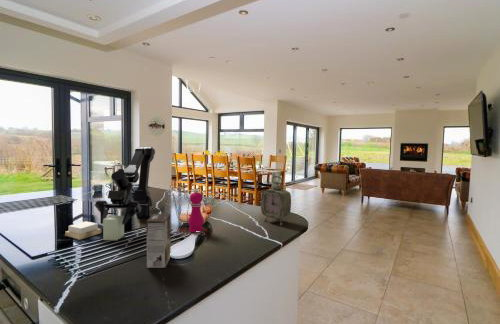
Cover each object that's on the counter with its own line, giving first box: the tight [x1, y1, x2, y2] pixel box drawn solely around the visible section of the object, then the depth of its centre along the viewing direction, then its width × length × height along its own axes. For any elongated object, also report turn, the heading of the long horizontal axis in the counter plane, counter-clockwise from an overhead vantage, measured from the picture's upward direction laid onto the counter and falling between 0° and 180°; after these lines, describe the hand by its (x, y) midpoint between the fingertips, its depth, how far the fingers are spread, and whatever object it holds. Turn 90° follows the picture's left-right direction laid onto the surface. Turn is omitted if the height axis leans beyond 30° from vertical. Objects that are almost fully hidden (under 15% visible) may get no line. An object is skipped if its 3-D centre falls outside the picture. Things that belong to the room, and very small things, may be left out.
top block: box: [68, 220, 99, 234], centre depth 123 cm, size 8×8×2 cm
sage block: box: [102, 215, 125, 241], centre depth 120 cm, size 6×6×9 cm
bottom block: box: [64, 227, 102, 241], centre depth 123 cm, size 10×10×2 cm
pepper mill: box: [187, 188, 205, 234], centre depth 131 cm, size 7×7×20 cm
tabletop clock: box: [260, 175, 292, 226], centre depth 147 cm, size 14×9×25 cm, turn 47°
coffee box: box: [146, 213, 172, 269], centre depth 96 cm, size 9×6×16 cm
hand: (112, 223), depth 118 cm, fingers open, 9 cm apart
